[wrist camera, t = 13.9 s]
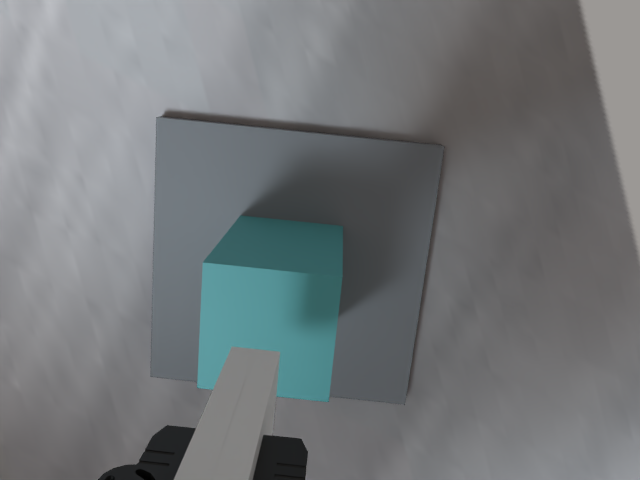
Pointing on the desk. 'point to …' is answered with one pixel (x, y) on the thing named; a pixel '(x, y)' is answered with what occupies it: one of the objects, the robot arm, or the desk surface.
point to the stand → (304, 206)
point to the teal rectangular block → (274, 301)
